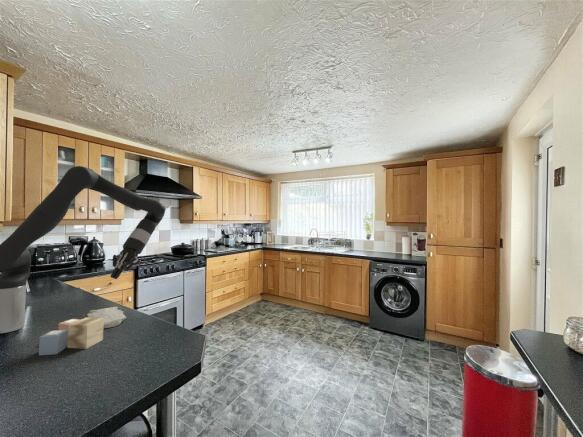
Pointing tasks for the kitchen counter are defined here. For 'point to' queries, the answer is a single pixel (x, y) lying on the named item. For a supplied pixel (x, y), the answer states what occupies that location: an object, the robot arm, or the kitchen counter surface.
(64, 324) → the terracotta label block
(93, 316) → the stone tool
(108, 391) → the kitchen counter surface
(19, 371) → the kitchen counter surface
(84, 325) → the plain block
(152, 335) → the kitchen counter surface
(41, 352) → the blue label block
